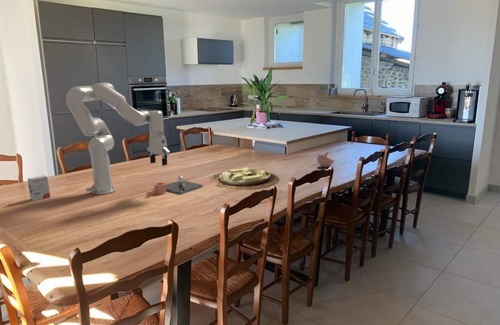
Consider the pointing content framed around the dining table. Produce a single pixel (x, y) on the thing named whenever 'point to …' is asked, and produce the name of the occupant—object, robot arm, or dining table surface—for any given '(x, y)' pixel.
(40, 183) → the ink box
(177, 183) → the post plate
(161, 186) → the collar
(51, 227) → the dining table surface
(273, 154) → the dining table surface
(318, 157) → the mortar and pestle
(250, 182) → the plate
